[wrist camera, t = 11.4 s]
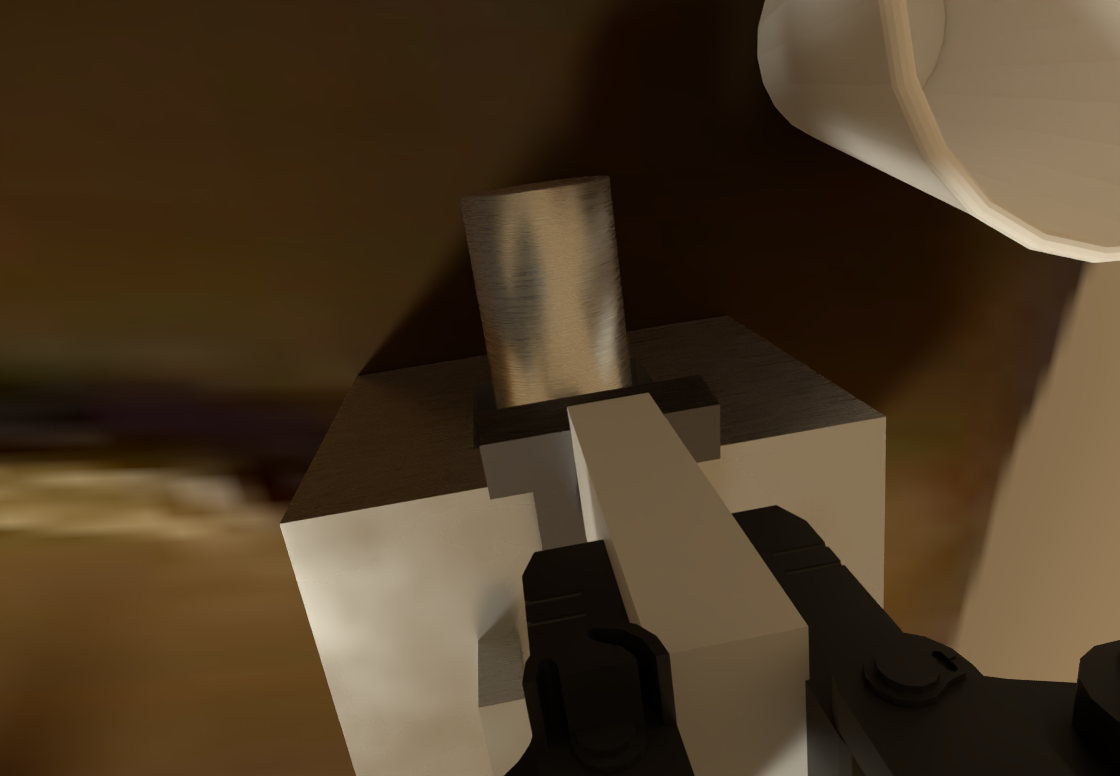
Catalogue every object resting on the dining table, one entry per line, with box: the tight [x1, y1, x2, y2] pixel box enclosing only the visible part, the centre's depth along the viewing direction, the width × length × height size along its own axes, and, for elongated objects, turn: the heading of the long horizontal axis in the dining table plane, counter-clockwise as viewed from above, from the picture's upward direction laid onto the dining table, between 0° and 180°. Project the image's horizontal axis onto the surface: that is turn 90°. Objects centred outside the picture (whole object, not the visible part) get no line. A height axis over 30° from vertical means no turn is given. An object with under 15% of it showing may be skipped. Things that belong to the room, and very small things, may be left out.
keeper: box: [477, 375, 721, 551], centre depth 15 cm, size 8×4×1 cm, turn 7°
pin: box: [460, 176, 632, 409], centre depth 22 cm, size 18×6×6 cm, turn 8°
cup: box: [757, 0, 1120, 263], centre depth 18 cm, size 12×12×12 cm
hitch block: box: [280, 315, 886, 776], centre depth 22 cm, size 10×14×13 cm
